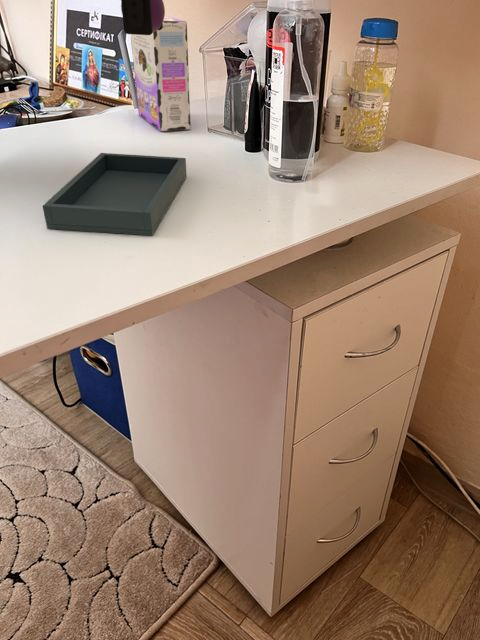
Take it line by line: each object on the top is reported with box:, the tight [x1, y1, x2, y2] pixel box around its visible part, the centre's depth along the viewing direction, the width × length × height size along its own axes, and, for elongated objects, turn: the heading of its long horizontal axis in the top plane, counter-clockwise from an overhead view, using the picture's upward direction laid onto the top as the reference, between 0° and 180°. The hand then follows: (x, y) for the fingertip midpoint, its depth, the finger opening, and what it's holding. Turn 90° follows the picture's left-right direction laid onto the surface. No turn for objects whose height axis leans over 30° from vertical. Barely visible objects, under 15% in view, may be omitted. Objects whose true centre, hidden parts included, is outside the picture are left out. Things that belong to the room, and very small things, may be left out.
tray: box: [42, 152, 188, 237], centre depth 65 cm, size 12×20×3 cm, turn 176°
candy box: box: [130, 15, 192, 132], centre depth 92 cm, size 14×6×16 cm, turn 27°
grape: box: [120, 0, 166, 32], centre depth 62 cm, size 5×5×5 cm
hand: (144, 29), depth 63 cm, fingers closed on grape, 4 cm apart
